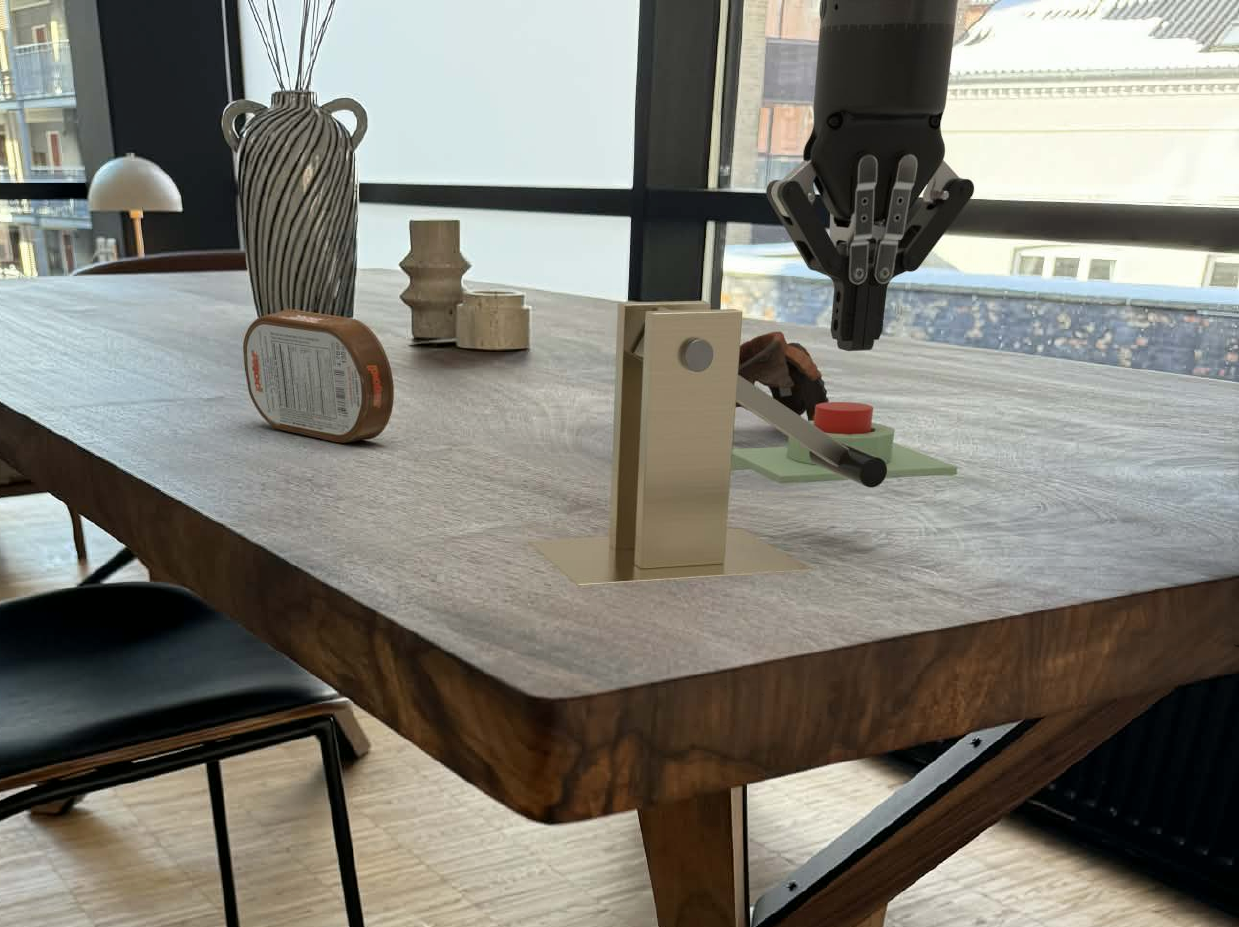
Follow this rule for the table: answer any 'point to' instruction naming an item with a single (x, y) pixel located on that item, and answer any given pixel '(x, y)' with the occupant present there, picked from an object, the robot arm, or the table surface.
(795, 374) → the crumpled brown leather
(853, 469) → the lever
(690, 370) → the bracket
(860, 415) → the button
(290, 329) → the tin
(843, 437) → the housing
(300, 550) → the table surface
